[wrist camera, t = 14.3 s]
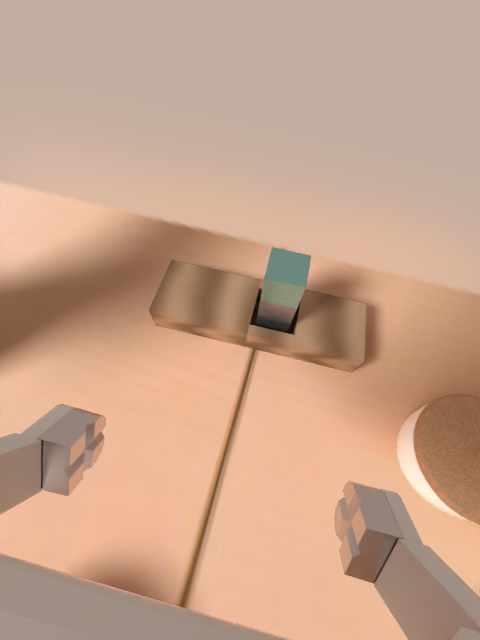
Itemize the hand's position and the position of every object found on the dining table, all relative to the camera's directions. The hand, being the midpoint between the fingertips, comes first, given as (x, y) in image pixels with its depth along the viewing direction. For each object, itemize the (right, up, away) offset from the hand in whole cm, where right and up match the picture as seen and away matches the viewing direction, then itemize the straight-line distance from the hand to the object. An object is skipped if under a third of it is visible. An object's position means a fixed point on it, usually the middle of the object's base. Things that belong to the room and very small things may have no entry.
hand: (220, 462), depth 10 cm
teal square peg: (+5, +4, +30) cm, 30 cm away
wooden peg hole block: (+3, +4, +30) cm, 31 cm away
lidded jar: (+21, -11, +23) cm, 33 cm away
